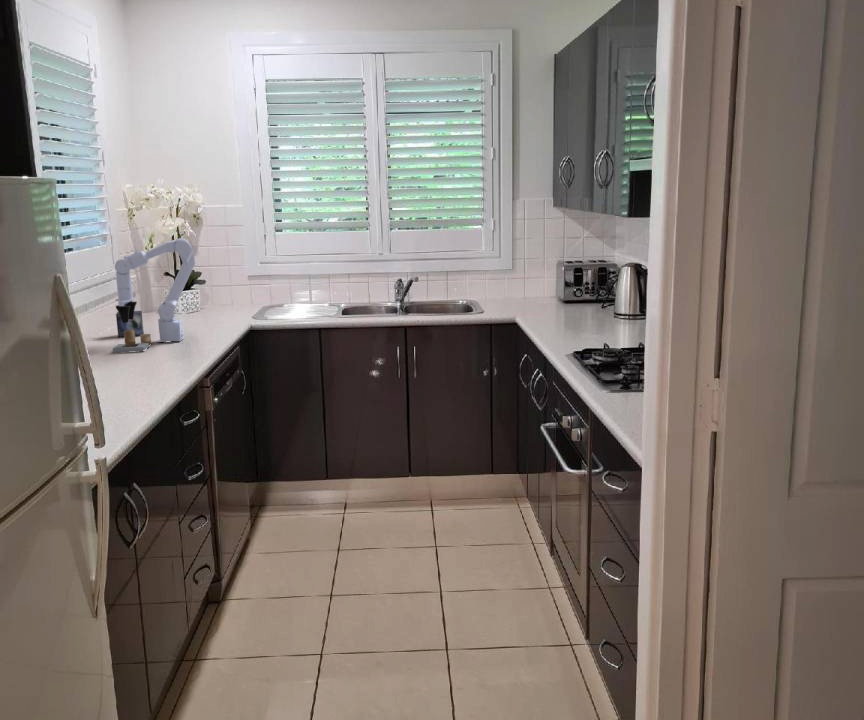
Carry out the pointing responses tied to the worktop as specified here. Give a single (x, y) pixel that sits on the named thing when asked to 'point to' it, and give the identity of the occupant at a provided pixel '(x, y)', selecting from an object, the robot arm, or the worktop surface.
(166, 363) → the worktop surface
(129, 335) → the long dowel
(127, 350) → the board
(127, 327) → the small box
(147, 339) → the short dowel
